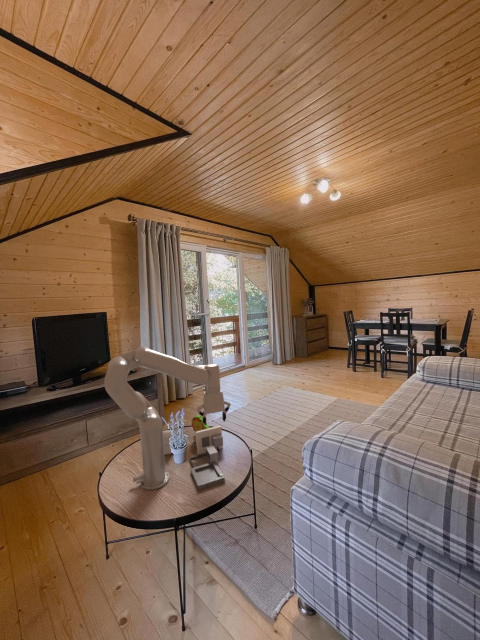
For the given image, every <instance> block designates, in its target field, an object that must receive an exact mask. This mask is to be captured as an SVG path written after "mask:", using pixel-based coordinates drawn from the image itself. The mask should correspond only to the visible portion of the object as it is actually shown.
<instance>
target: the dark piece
mask: <svg viewBox="0 0 480 640" xmlns="http://www.w3.org/2000/svg"><path fill="white" fill-rule="evenodd" d="M217 452H218V453H219V452H220V449H219V447H217ZM202 457H206V453H203V454H200V455H198V454H197V455H195V456H192V457H189V458H188V461H189V463H190V465H191V468H194V467H195V466H194V465H195V464H194V463H193V460H194V459H195V460H196V459H199V458H202Z"/></svg>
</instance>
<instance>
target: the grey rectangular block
mask: <svg viewBox="0 0 480 640" xmlns="http://www.w3.org/2000/svg"><path fill="white" fill-rule="evenodd" d="M205 457H206V461H207V462H208V463H211V462H214V461H215V463H216V464H217V465H218V464H219V452H217V450H216V449H215V447H214V446H210V447H206V456H205Z"/></svg>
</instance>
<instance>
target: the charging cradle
mask: <svg viewBox="0 0 480 640" xmlns="http://www.w3.org/2000/svg"><path fill="white" fill-rule="evenodd" d="M190 475H192V476H191V477H192V479H193V481H194V483H195V485H196V488H197V489H198V491H202V490H205V489H207V488H210V487H214V486H216V485H219V484H223V483H225V482H226V479H225V476H224V474H223V473H222V471H221V469H220V468H219V466H218V464H216V463H215V461H214V462H211V463H209V462H208V463H204V464H201V465H198V466H194V468H192V467H191V468H190Z"/></svg>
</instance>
